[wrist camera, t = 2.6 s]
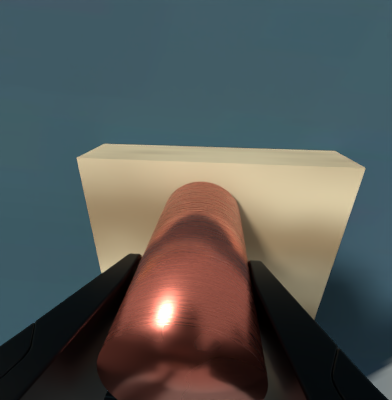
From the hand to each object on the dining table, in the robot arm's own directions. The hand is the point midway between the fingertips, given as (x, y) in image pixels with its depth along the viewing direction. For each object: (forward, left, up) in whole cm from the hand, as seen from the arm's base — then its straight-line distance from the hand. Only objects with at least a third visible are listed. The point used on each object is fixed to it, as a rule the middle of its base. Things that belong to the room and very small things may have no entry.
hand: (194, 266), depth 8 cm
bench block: (-9, -1, -7) cm, 11 cm away
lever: (-8, 0, -4) cm, 9 cm away
